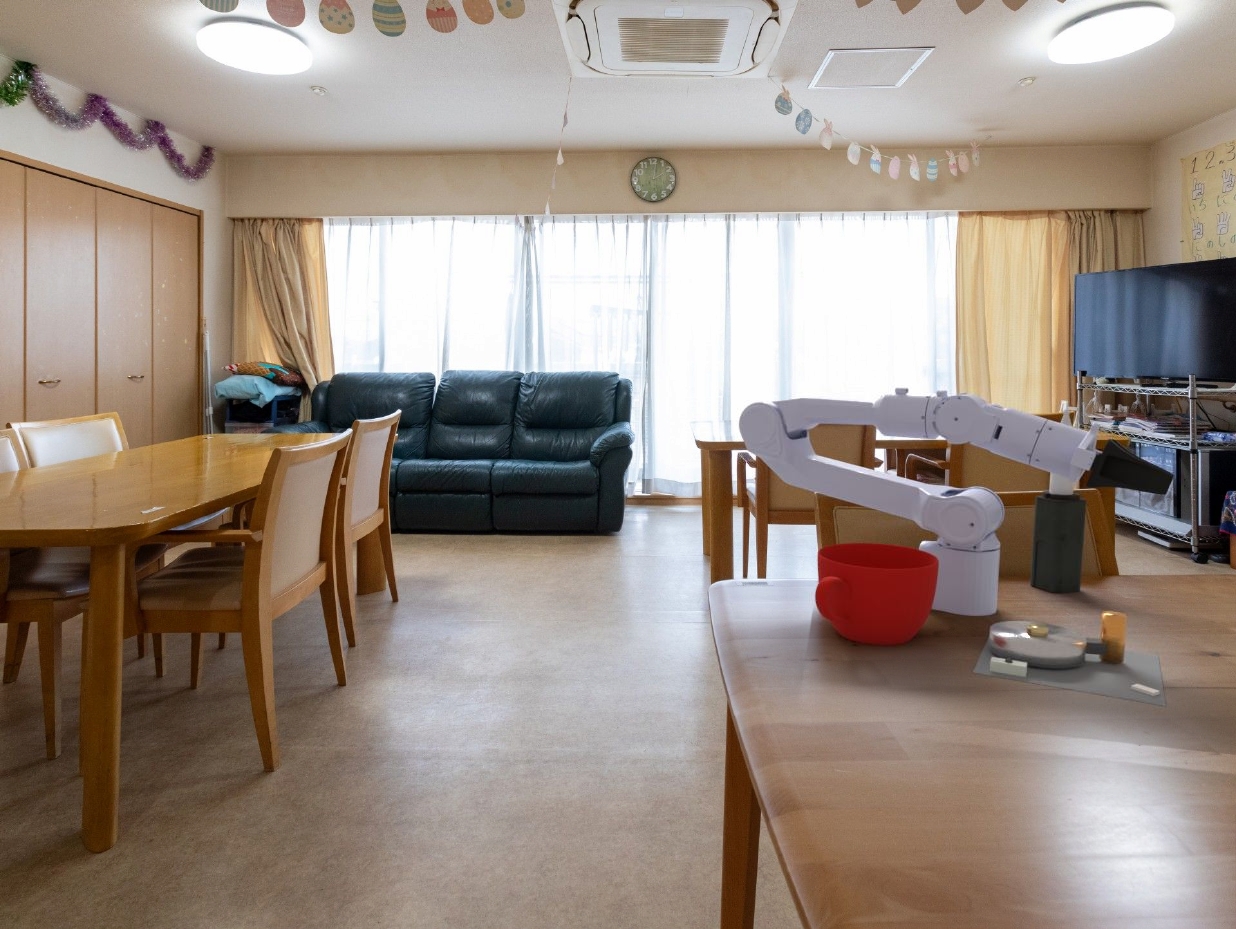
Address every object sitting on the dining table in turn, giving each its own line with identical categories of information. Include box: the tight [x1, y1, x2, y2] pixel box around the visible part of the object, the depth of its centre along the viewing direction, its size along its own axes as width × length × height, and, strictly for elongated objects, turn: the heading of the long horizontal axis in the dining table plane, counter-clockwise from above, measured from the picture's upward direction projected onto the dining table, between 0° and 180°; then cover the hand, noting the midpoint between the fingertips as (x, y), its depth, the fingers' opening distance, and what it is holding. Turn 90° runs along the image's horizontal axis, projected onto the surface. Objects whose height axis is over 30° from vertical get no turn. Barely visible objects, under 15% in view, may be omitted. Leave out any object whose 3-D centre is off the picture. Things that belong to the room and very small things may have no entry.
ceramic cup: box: [814, 542, 939, 646], centre depth 93 cm, size 13×17×10 cm
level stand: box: [972, 634, 1167, 707], centre depth 85 cm, size 16×15×2 cm
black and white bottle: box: [1029, 408, 1087, 594], centre depth 116 cm, size 5×5×25 cm
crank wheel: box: [988, 610, 1128, 668], centre depth 86 cm, size 13×9×5 cm
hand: (1170, 484), depth 91 cm, fingers open, 7 cm apart
